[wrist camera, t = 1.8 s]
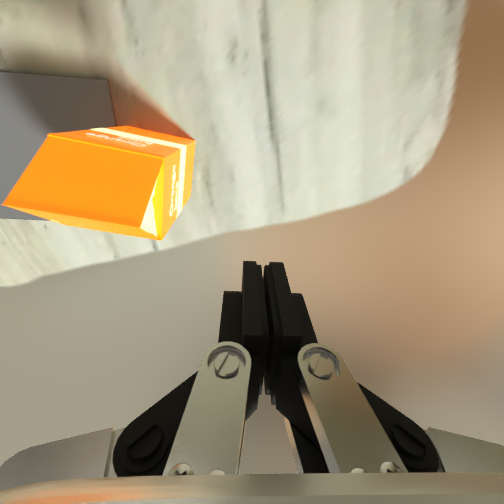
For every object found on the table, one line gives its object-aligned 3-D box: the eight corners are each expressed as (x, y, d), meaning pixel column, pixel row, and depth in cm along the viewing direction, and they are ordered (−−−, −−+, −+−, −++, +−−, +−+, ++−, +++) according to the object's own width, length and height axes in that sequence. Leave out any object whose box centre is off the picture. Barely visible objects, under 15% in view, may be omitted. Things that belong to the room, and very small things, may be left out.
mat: (-104, 64, 28) (-111, 63, 27) (108, 80, 29) (105, 79, 28) (-26, 215, 36) (-30, 217, 36) (134, 222, 38) (132, 224, 37)
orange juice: (125, 124, 31) (-23, 138, 14) (196, 139, 32) (141, 170, 15) (128, 185, 35) (13, 256, 18) (191, 196, 36) (142, 275, 19)
